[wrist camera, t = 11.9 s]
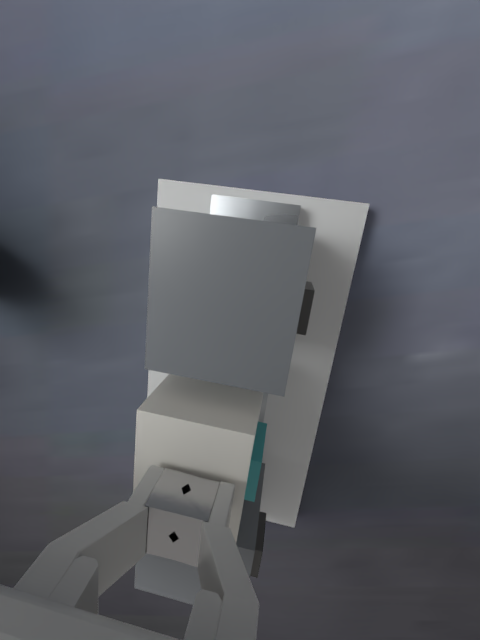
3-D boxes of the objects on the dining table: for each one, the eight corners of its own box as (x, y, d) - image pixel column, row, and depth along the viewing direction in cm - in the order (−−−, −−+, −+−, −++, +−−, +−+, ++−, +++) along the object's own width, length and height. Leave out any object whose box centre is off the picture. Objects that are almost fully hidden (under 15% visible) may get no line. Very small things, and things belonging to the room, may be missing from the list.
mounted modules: (198, 216, 14) (152, 206, 10) (317, 231, 14) (330, 229, 9) (174, 499, 19) (134, 588, 14) (261, 520, 18) (251, 622, 13)
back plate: (166, 182, 16) (158, 178, 15) (364, 205, 15) (369, 203, 14) (149, 478, 21) (142, 489, 20) (294, 513, 20) (294, 527, 19)
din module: (192, 347, 16) (136, 409, 10) (276, 363, 16) (267, 438, 10) (184, 429, 17) (131, 524, 12) (261, 447, 17) (245, 554, 11)
